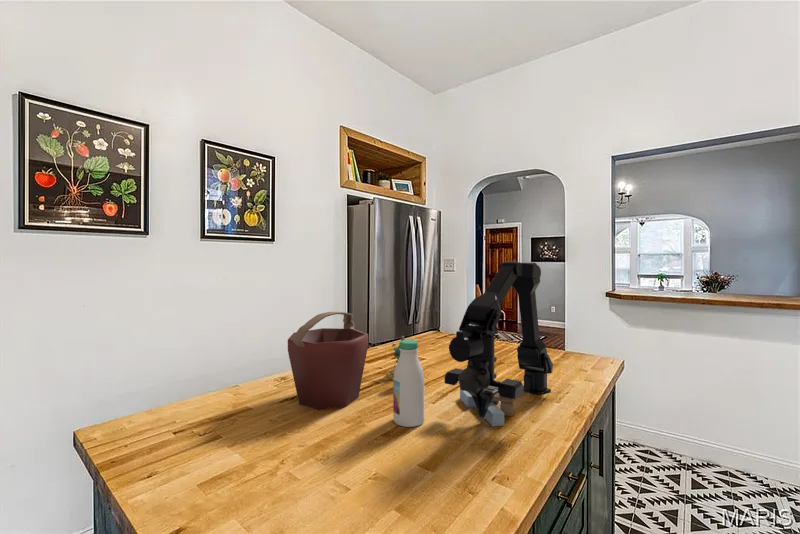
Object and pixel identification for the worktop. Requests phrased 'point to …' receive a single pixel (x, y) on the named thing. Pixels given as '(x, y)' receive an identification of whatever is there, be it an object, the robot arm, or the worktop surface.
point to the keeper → (505, 404)
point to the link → (493, 412)
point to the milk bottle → (408, 387)
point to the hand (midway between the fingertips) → (482, 417)
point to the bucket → (327, 363)
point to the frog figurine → (391, 372)
